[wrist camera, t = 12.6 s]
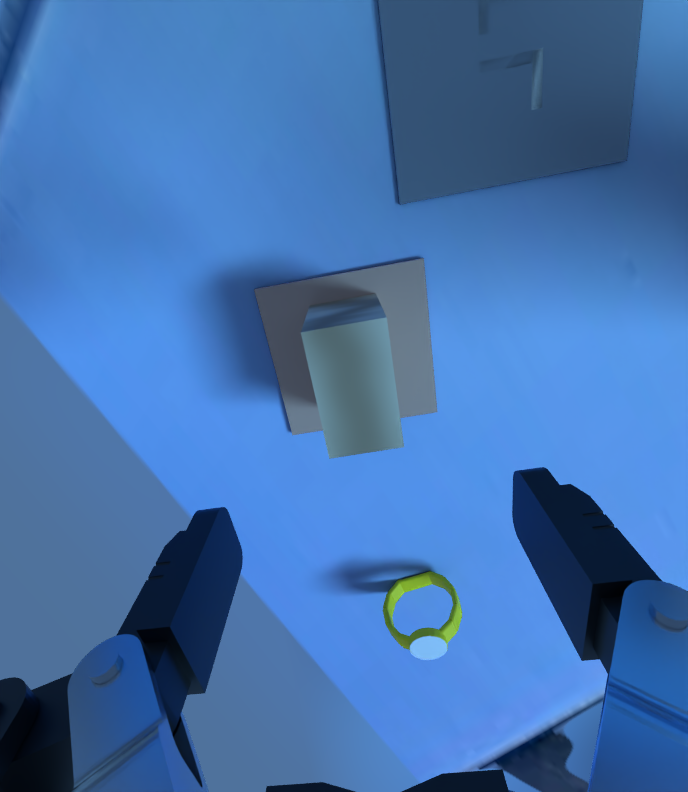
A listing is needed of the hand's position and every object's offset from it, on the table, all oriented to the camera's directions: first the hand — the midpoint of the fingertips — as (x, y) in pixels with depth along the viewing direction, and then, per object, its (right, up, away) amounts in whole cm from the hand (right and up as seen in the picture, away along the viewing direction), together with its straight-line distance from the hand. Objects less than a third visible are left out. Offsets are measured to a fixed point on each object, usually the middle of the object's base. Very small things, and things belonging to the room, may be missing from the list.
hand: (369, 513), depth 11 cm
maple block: (0, +6, +14) cm, 15 cm away
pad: (0, +6, +14) cm, 15 cm away
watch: (+5, -12, +23) cm, 27 cm away
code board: (+7, +20, +8) cm, 23 cm away
